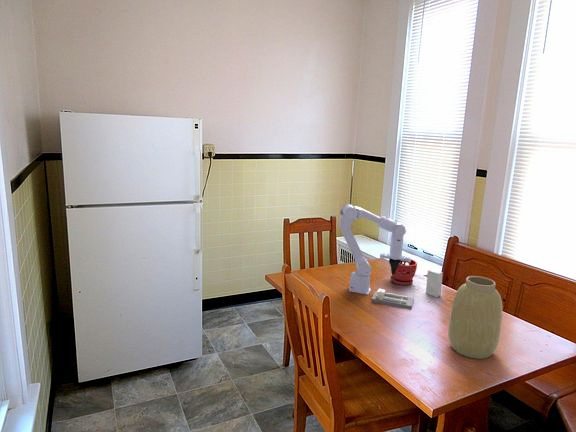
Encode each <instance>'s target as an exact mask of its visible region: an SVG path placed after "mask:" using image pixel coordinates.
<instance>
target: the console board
mask: <svg viewBox="0 0 576 432" xmlns="http://www.w3.org/2000/svg"><path fill="white" fill-rule="evenodd" d="M377 292H378V290H377V291H374V293H373V295H372V297H371V300H370V301H371V303H378V304H381V305H387V306H393V307H396V308H397V307H398V308H403V309H408V310H412V309H413V308H412V307H413V305H414V304H413V303H414V297H409V296H406V295H402V294H401V295H400V294H395V293H391V292H386V291H385V295H384V297H383V296H377Z"/></svg>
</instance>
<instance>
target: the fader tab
mask: <svg viewBox="0 0 576 432" xmlns="http://www.w3.org/2000/svg"><path fill="white" fill-rule="evenodd" d="M385 292H386V289H383V288H378V290H377V296H383V297H384V295H385Z"/></svg>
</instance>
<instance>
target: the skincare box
mask: <svg viewBox="0 0 576 432" xmlns="http://www.w3.org/2000/svg"><path fill="white" fill-rule="evenodd" d="M443 274H444V272H442V271H440V270H436V269H433V268H431V269H429V270H427V274H426V275H427V276H426V288H425V293H426V294H427V295H429V296H432V297H436V298H437V297H440V296H441V295H442V285H443V284H442V283H443Z"/></svg>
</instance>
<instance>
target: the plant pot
mask: <svg viewBox="0 0 576 432" xmlns="http://www.w3.org/2000/svg"><path fill="white" fill-rule="evenodd" d="M406 263H407V264H406ZM417 269H418V262H417V261H416V260H414V259H412V258H411V262H406V261H401V262H400V264H399V265H398V267H397V269H396V273H395V275H394V274H392V269H391V268H390V273H391V276H390V281H392V282H393V283H394V284H396V285H401V286H409V285H412V284H413V282H414V279H413V278H414V277H415V275H416V272H417Z"/></svg>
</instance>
